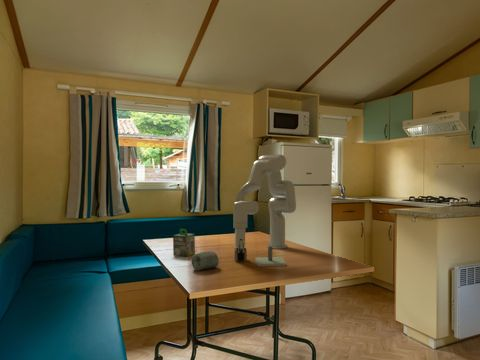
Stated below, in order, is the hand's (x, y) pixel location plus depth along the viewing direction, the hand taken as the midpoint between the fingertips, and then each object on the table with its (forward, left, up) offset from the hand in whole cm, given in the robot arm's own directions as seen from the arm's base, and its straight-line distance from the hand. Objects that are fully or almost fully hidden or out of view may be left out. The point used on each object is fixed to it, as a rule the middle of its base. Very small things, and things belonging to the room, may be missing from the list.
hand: (240, 258), depth 181 cm
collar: (0, 0, -1) cm, 1 cm away
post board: (+6, +15, -1) cm, 16 cm away
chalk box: (-16, -31, -1) cm, 35 cm away
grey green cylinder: (+16, -18, -1) cm, 24 cm away
